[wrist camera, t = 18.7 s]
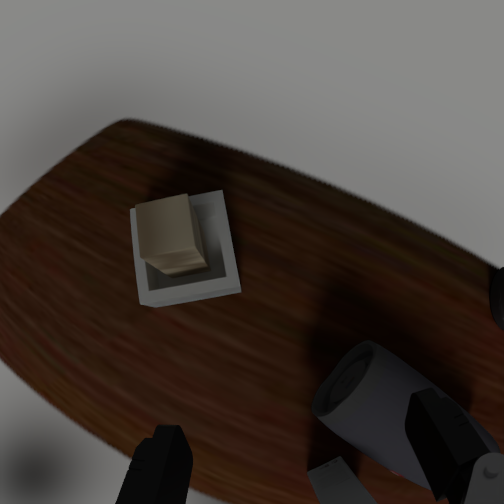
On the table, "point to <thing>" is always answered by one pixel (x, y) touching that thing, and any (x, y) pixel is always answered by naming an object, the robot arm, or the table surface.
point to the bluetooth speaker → (378, 407)
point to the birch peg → (172, 236)
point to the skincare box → (338, 484)
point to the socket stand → (197, 285)
